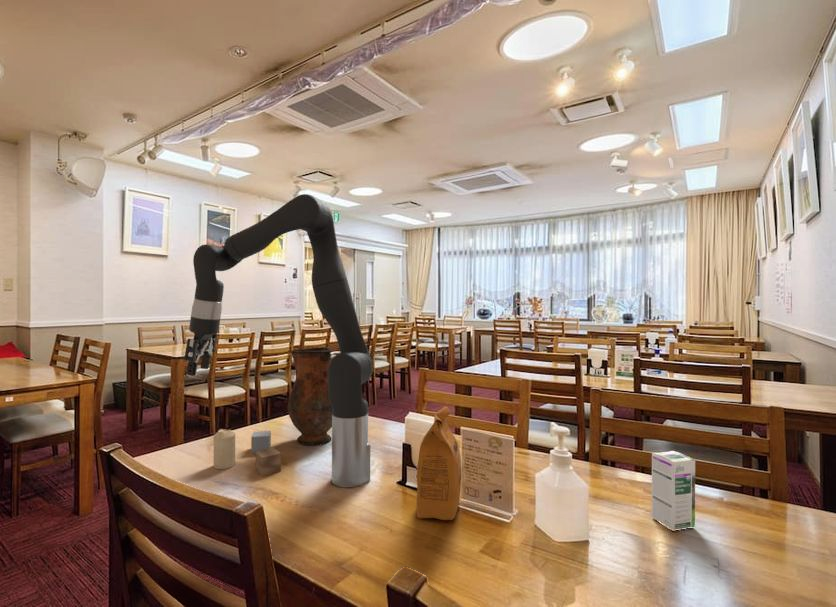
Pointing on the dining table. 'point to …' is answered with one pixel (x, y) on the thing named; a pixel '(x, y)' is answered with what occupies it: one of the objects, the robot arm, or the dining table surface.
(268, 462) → the walnut block
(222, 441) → the candle
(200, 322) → the robot arm
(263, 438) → the slate block
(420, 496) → the coffee package
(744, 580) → the dining table surface
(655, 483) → the syrup box
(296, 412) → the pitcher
